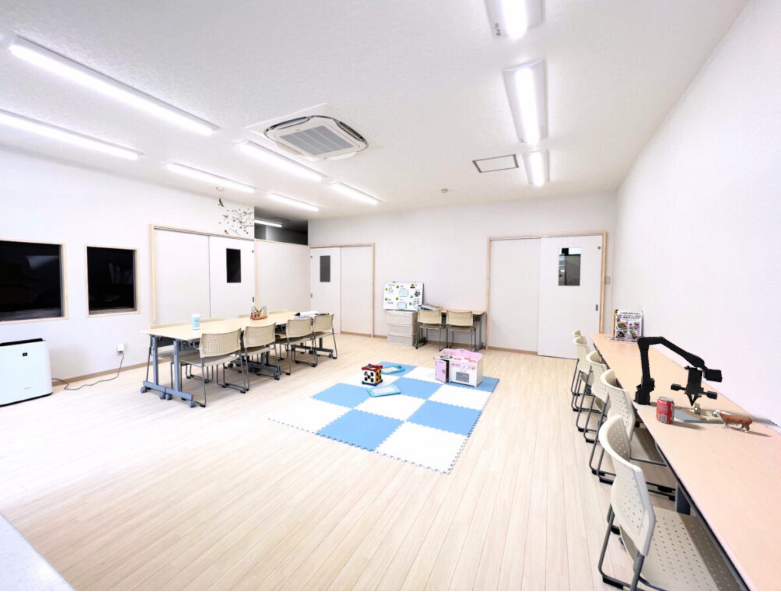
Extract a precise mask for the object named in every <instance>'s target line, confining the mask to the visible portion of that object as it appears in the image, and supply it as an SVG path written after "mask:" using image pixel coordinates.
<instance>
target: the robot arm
mask: <svg viewBox="0 0 781 592" xmlns="http://www.w3.org/2000/svg"><path fill="white" fill-rule="evenodd" d="M635 340H636V344H637V347H638V350H639V356H640V357H639V358H640V368H641V378H640V383H639V384H637V385H636V386H635V388H636V391H635V393H634V399H632V401H633V402H635V403H636V404H639V405H640V406H641V405H647V406H648V405H649V406H651V405H652V403H651V393H652V392H653V391H655V388H656V384H655V383H656V380H655V378H654V377H652V376H651V369H650V368H651V367H650V360H649V359H650V358H649V357H650V356H649V350H650V346H656V345H662V346H663V347H666V348H667V349H669V350H670V351H672V352H674V353H675V354H677V355H678V356H680V357H682V358H683V359H684V360H686V361H687V363H688V364H687V365H686V366H684V367H683V369H684V370H686V371H688V372H687V381H686V385H685V387H684V386H682V384H678V383H672V384H671V385H670V390H671V391H674V392H679V391H683V395H686V396H687V398H688V400H689V403H690V406H691V407H693V406H695V403H696V402H697V400H698V399H699V398H700V399H701V398H702V397H703V396H706V398H708V399H709V400H710V399H711V400H718V396H719V395H718V392H716V391H711V390H706V391H705V387H702V381H703V379H705V381H708V382H715V383H720V384H721V383H722V382H723V374H722V370H721V369H718V368H709V367H707V365H706V362H705V359H703V358H702V357H701V356H700V355H699V356H698V355H697V354H694V353H691V352H689V351H687V350H685V349H683V348H681V347H679V346H678V345H677V344H675V343H673V342H672V341H670V340H668V339H667V338H665V336H663V335H659V336H646V335H645V336H644V335H639V336H638V337H636V339H635ZM689 364H690V365H691V366H690V365H689Z"/></svg>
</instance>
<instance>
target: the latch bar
mask: <svg viewBox="0 0 781 592" xmlns="http://www.w3.org/2000/svg"><path fill="white" fill-rule="evenodd" d="M700 405H701V404H700V403H698V402H697V403H696V402H695V403H694V405H693V406H694V409H693V410H694V413H695V414H700V412H701V410H702V409H701V406H700Z"/></svg>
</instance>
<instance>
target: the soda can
mask: <svg viewBox="0 0 781 592" xmlns="http://www.w3.org/2000/svg"><path fill="white" fill-rule="evenodd" d="M675 405H676V403H675V402H674V399H672V397H671V398H670V397H667V396H659V397H658V399H657V401H656V409H655V410H656V411H655V412H656V413H655V418H656V420H658V421H659V422H660V423H663V424H667V423H668V424H669V423H670V424H672V423H674V420H675V417H674V411H675V408H676V407H675Z"/></svg>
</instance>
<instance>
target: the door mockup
mask: <svg viewBox="0 0 781 592" xmlns="http://www.w3.org/2000/svg"><path fill="white" fill-rule="evenodd" d="M715 411H716V410H714V411H712V410H711V409H701V412H700V414H695V413H694V409H689V408H681V409H680V410H675V411H674V419H677V420H679V421H681V422H683V423H697V424H698V423H700V424H701V423H702V424H703V423H704V424H724V422H722V421H721V420H720V418H719V417H718V416H717V415H716V414H713V412H715ZM730 424H732V423H728V425H730Z"/></svg>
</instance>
